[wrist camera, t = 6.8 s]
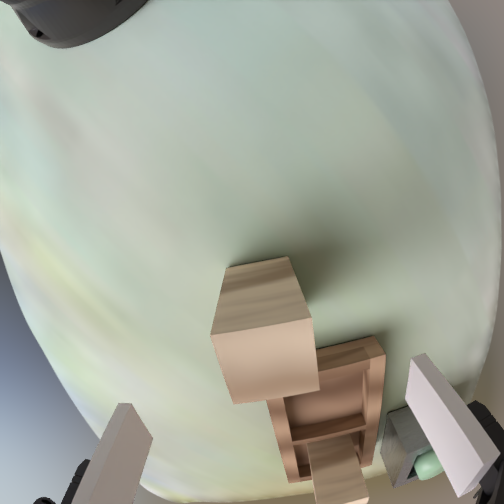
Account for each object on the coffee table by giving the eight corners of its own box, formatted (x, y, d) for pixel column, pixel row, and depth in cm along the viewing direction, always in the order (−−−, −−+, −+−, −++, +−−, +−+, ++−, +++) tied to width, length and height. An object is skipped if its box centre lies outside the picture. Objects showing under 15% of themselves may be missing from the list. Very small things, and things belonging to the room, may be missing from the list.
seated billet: (305, 438, 28) (317, 509, 18) (348, 428, 28) (369, 496, 18) (308, 458, 29) (319, 522, 20) (347, 449, 29) (364, 511, 20)
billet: (226, 268, 24) (210, 335, 14) (287, 256, 23) (311, 317, 14) (239, 321, 25) (233, 404, 15) (296, 310, 25) (319, 390, 15)
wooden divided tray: (260, 360, 26) (261, 382, 23) (373, 335, 25) (386, 354, 22) (287, 465, 32) (288, 483, 28) (365, 447, 31) (371, 464, 28)
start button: (416, 448, 24) (424, 465, 21) (454, 431, 24) (463, 446, 21) (408, 468, 25) (414, 484, 23) (443, 453, 25) (451, 468, 22)
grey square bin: (387, 413, 29) (406, 454, 22) (452, 387, 28) (477, 420, 22) (380, 453, 32) (393, 488, 25) (438, 430, 31) (455, 461, 24)
